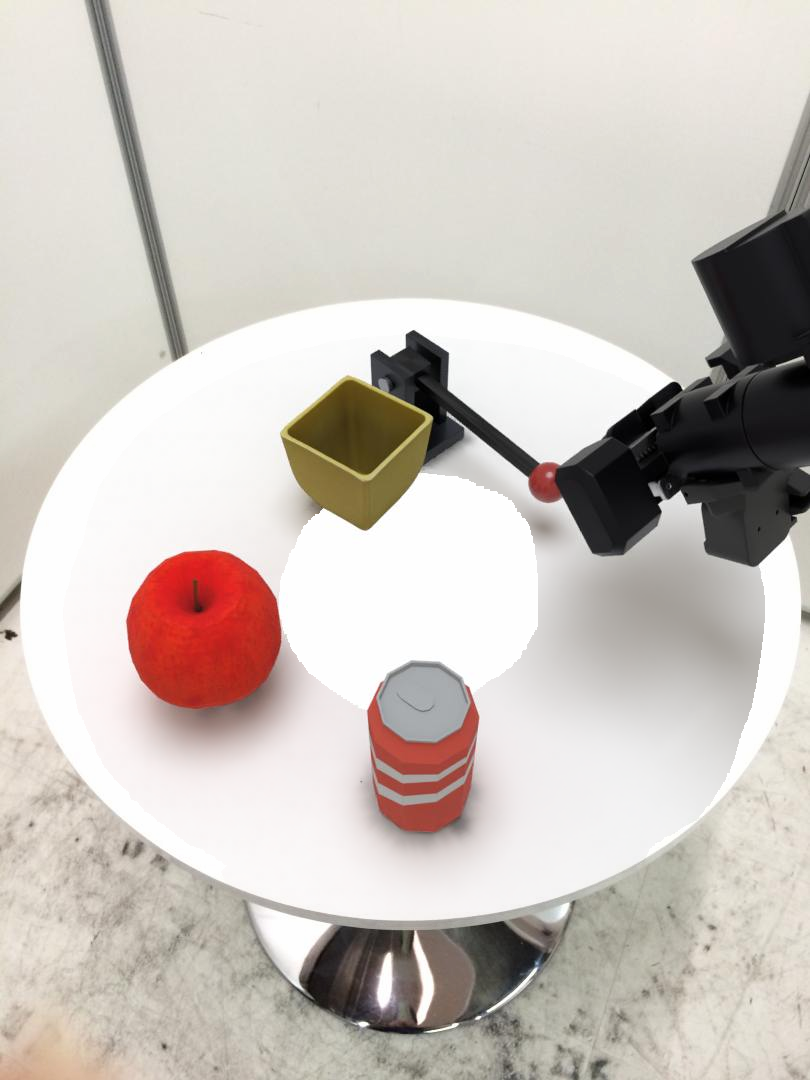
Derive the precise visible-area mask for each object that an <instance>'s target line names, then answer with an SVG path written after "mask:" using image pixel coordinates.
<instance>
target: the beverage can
mask: <svg viewBox="0 0 810 1080" xmlns="http://www.w3.org/2000/svg"><path fill="white" fill-rule="evenodd" d="M366 714H367V727H368V737H369V738H368V739H369V751H370V764H371V775H372V776H371V777H372V784H373V789H374V793H375V796H376V801H377V805H378V809H379V812H380V813H381V814H383V815H384V816H385V817H386V818H388V819H389V820H390V821H391V822H392V823H394V824H395V825H396V826H398V827H399V828H400V829H401V830H402V831H408V832H425V833H436V832H437V831H439V830H440V829H442V828H444V827H446V826H447V825H448V824H450V823H452V822H454V821H455V820H457V819H458V818H459V817H461V816H462V813H463V811H464V808H465V805H466V801H467V799H468V797H469V794H470V791H471V788H472V779H473V772H474V765H475V764H474V763H475V756H476V748H477V739H478V730H479V725H480V723H479V722H480V715H479V711H478V709H477V706H476V702H475V699H474V697H473V693H472V691H471V688H470V686H468V685H467V684H466V683H465V681H464V678H463V677H462V675H460V674H458V673H457V672H455V671H454V670H453V669H451V668H450V667H448V666H447V665H445V664H444V663H443V662H441V661H437V660H436V661H432V660H414V659H413V660H409V661H407V662H405V663H404V664H402V665H400V666H398V667H397V668H395V669H393V670H391V671H389V672H387V673H386V675H385V678H384V679H383V680H382V681H381V682H379V685H378V687H377V689H376V691H375V693H374V695H373V697H372V699H371V702H370V703H369V706H368V708H367V709H366Z"/></svg>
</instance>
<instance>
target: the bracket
mask: <svg viewBox="0 0 810 1080" xmlns="http://www.w3.org/2000/svg"><path fill="white" fill-rule="evenodd" d="M408 346H410V347H411V348H413V349H414V350H415V351H416V352H418V353H419V354H420V355H421V356H423V357H424V358H425V359H426V360H428V361H429V362H430V363H431V371H430V376H431V377H432V378H434V379H435V380H436V381H437V382H439V383H440V384H441V385H442V386H444V387H445V388H446V389H447V390H449V369H450V368H449V367H450V352H448V350H446V349H444V348H442V347H441V346H439V344H437V343H435V342H433V341H432V340H431V339H429V338H427V337H426V336H425V335H423V334H421V333H420V332H418V331H416V330H415V329H412V330H410V331H409V332H407V333H405V348H406V347H408ZM369 356H370V359H369V360H370V380H371V385H372V386H374V387H376V388H378V389H380V390H382V391H384V392H386V393H388V394H390V395H392V396H395V397H397V398H399V399H401V400H403V401H405V402H407V403H409V404H411V405H413V406H415V407H417V408H419V409H421V410H423V411H425V412H427V413H428V414H430V415H431V416H432V417H433V422H432V427H431V431H430V436H429V441H428V446H427V450H426V455H425V459H424V463H423V465H425V464H427V463H428V462H429V461H431V460H433V459H434V458H436V457H438V456H439V455H440V454H441V453H442V452H444V451H446V450H447V449H449V448H450V447H452V446H453V445H455V444H456V443H458V442H459V441H461V440H462V439H464V437H465V426H463V425H462V424H461V423H458V422H457V421H456V420H454V419H453V418H451V417H450V416H448V412H447V411H446V410H444V409H443V408H442V407H441V406H439V405H438V404H437V403H436V402H435V401H433V400H432V399H431V398H430V397H428V396H427V395H426V394H425V393H424V392H422V391H421V390H418V391H416V392H415V393H414V373H412V372H411V371H410V370H408V369H407V368H405V367H404V366H402V365H401V364H399V363H398V362H396V361H395V360H394V359H392V358H391V356H389V355H388V354H386V353H385V352H384V351H383V350H381V349H377V350H375V351H373V352H372V353H370V355H369Z"/></svg>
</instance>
